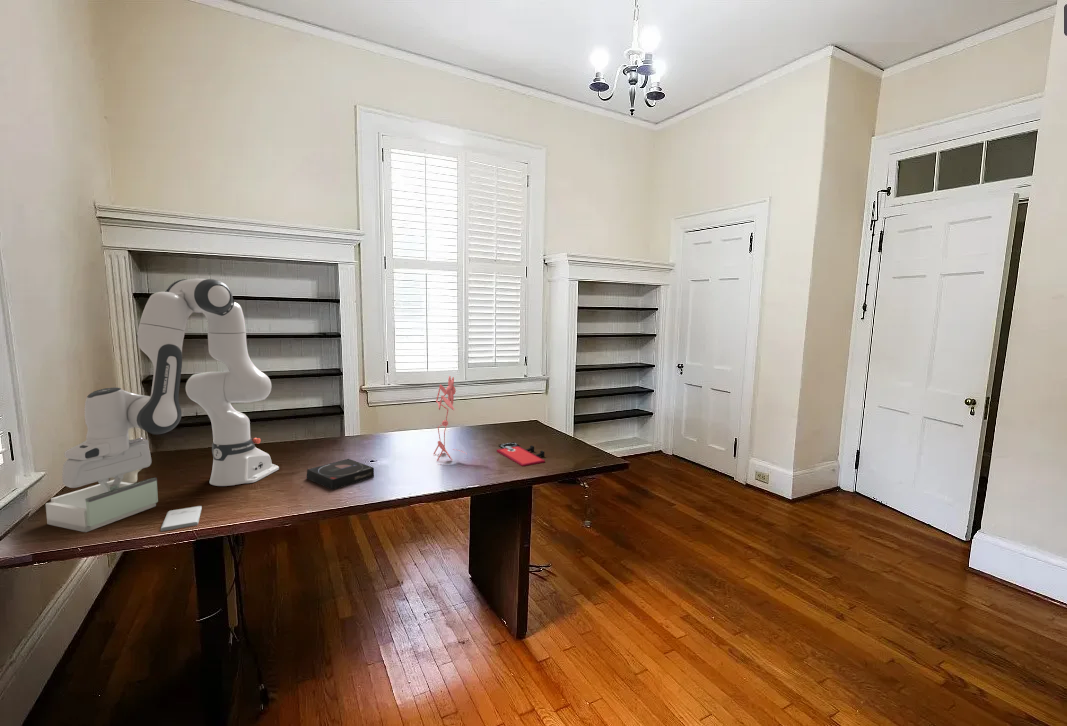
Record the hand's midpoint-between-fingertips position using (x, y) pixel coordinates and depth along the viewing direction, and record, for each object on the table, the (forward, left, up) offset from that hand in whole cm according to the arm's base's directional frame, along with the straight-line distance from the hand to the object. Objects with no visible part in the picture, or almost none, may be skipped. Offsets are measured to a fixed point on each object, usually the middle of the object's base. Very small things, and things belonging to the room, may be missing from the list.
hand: (111, 491), depth 132 cm
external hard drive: (-5, +20, -8) cm, 22 cm away
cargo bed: (0, -4, -8) cm, 8 cm away
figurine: (-85, +67, -8) cm, 108 cm away
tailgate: (0, +5, -6) cm, 8 cm away
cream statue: (-19, -24, -8) cm, 32 cm away
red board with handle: (-99, +93, -8) cm, 136 cm away
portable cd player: (-48, +40, -8) cm, 63 cm away
